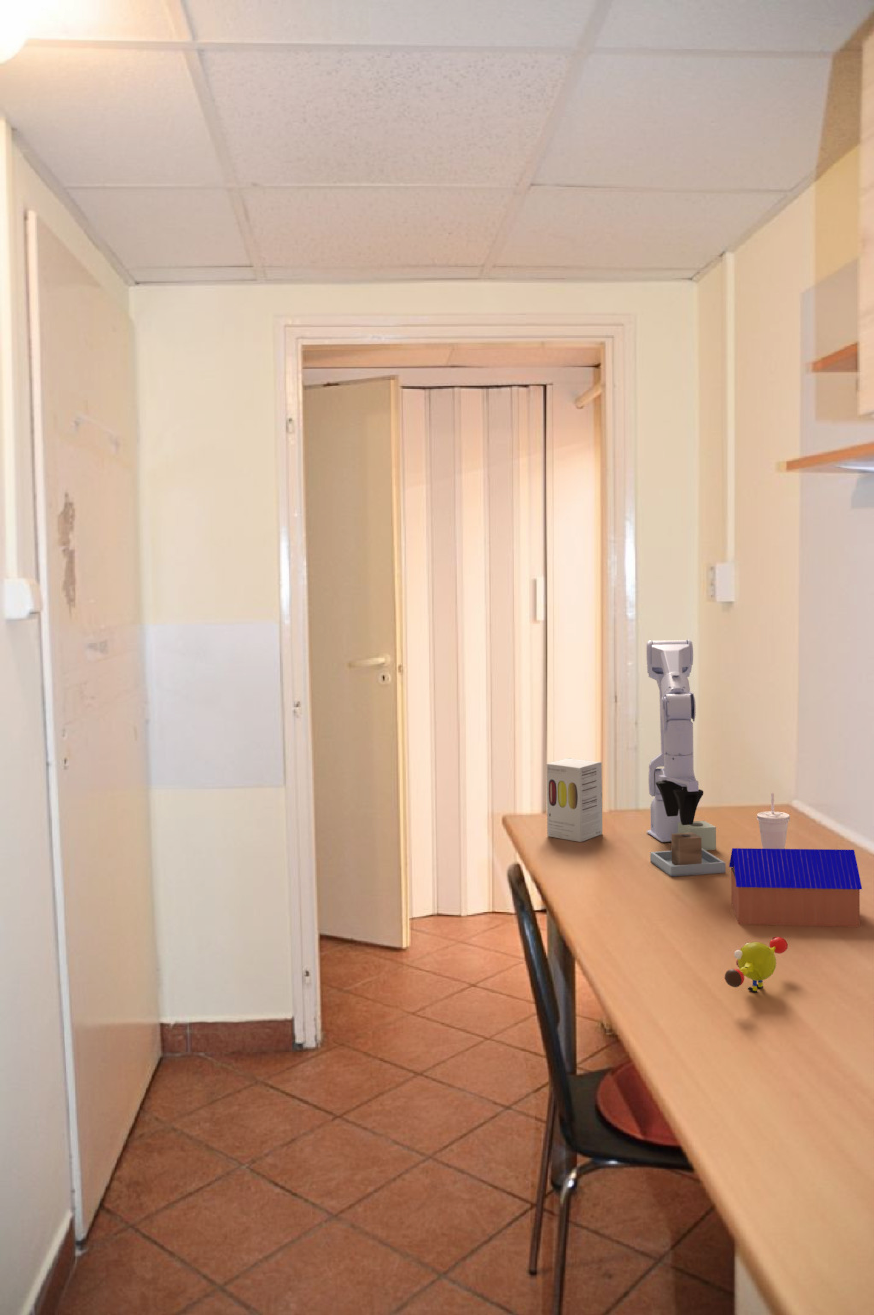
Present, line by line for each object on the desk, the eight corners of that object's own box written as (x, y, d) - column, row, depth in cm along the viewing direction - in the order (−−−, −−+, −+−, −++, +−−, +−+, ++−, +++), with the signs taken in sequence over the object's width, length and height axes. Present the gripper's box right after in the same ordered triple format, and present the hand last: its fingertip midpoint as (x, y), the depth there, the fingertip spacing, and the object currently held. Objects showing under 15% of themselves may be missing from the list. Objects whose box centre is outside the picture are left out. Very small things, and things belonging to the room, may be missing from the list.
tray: (650, 861, 218) (650, 852, 218) (702, 857, 220) (702, 848, 220) (671, 876, 207) (671, 866, 207) (725, 872, 209) (725, 862, 209)
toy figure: (762, 966, 160) (762, 922, 159) (798, 974, 156) (798, 929, 156) (709, 1006, 146) (709, 957, 145) (748, 1015, 142) (748, 966, 142)
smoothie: (786, 857, 218) (785, 790, 217) (793, 866, 212) (793, 796, 211) (754, 857, 219) (753, 790, 218) (760, 866, 212) (760, 797, 211)
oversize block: (678, 845, 231) (677, 822, 230) (704, 843, 232) (703, 820, 232) (689, 852, 225) (689, 828, 225) (716, 850, 226) (715, 826, 226)
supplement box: (546, 836, 241) (544, 763, 240) (568, 828, 248) (567, 757, 247) (581, 842, 235) (580, 767, 234) (604, 834, 242) (602, 761, 241)
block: (671, 863, 215) (671, 833, 215) (692, 861, 216) (692, 832, 215) (680, 869, 211) (679, 838, 210) (701, 867, 212) (701, 837, 211)
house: (729, 903, 190) (728, 839, 190) (846, 906, 187) (846, 840, 186) (736, 925, 179) (736, 857, 178) (862, 928, 175) (862, 859, 174)
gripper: (646, 748, 219) (647, 813, 220) (673, 760, 205) (674, 830, 206) (678, 746, 220) (679, 811, 221) (708, 758, 206) (709, 827, 207)
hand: (679, 820), depth 214 cm, fingers open, 7 cm apart
